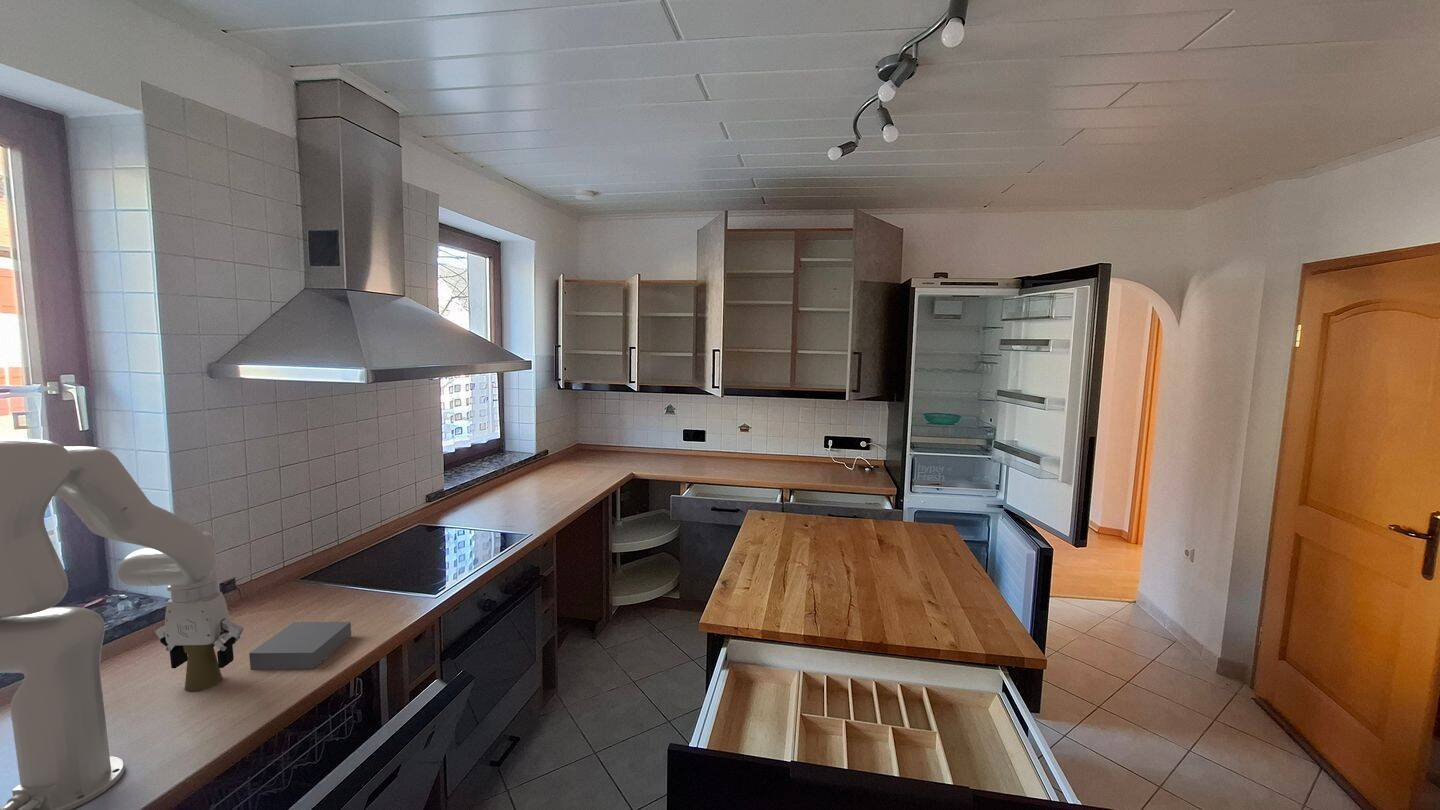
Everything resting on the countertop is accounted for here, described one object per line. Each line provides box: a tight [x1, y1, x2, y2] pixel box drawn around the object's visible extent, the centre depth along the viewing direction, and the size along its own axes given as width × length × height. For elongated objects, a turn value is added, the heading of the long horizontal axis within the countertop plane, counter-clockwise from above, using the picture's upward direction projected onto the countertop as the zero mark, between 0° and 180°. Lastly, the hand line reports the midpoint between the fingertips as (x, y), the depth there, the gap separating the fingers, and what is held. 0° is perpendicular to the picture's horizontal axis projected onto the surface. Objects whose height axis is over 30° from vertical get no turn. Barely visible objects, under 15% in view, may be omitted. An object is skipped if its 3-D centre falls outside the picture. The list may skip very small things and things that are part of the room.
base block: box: [248, 621, 352, 671], centre depth 133 cm, size 14×14×4 cm
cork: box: [183, 643, 223, 693], centre depth 120 cm, size 6×6×11 cm
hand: (203, 664), depth 120 cm, fingers open, 9 cm apart
